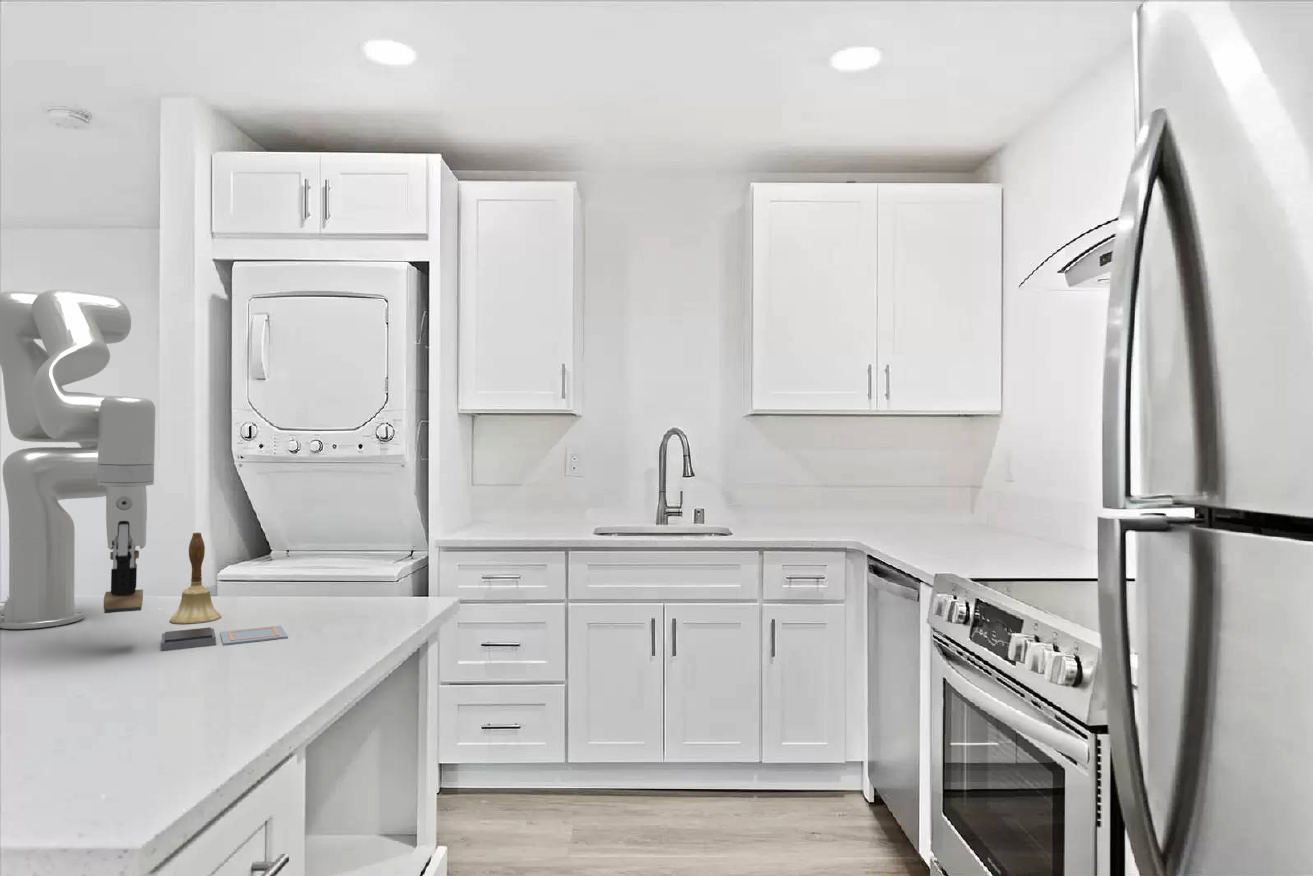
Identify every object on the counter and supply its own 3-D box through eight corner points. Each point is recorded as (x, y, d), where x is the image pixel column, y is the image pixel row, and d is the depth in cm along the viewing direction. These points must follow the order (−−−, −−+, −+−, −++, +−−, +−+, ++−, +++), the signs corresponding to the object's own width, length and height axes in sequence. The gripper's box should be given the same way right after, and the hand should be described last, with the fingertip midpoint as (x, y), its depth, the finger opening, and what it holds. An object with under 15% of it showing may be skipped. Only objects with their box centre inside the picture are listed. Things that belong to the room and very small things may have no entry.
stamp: (103, 613, 127) (104, 555, 127) (105, 606, 131) (106, 550, 131) (141, 610, 129) (143, 553, 129) (142, 604, 134) (143, 548, 133)
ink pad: (161, 650, 129) (161, 641, 129) (161, 640, 135) (161, 631, 135) (215, 644, 132) (215, 635, 132) (213, 635, 139) (213, 626, 139)
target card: (223, 645, 132) (223, 642, 132) (220, 633, 140) (220, 631, 140) (287, 638, 137) (287, 635, 137) (280, 627, 145) (280, 624, 145)
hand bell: (230, 615, 155) (231, 530, 156) (202, 625, 147) (202, 535, 147) (189, 614, 156) (189, 530, 156) (158, 624, 148) (159, 535, 148)
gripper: (153, 479, 125) (150, 600, 125) (154, 472, 139) (152, 581, 139) (93, 479, 121) (90, 604, 121) (101, 472, 135) (99, 584, 135)
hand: (123, 590), depth 130 cm, fingers closed on stamp, 3 cm apart
